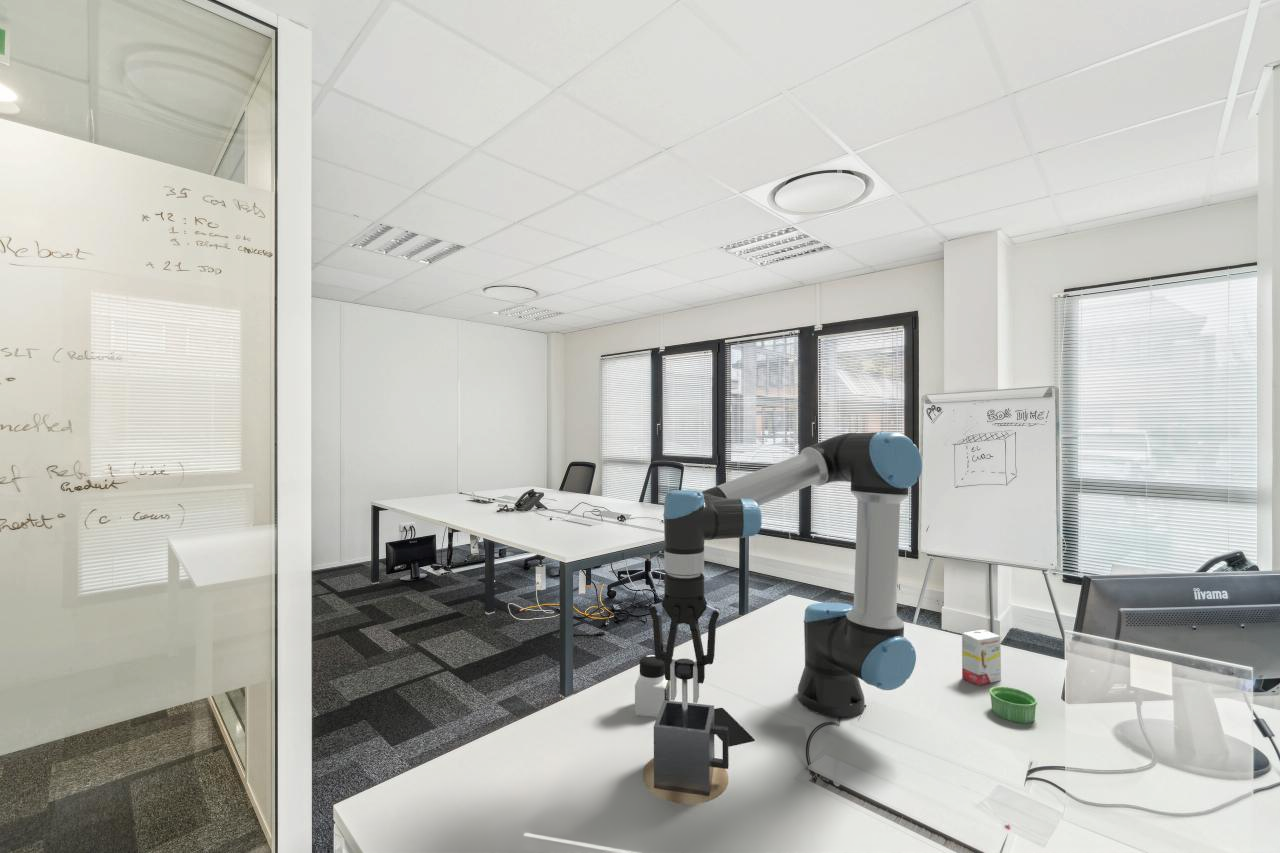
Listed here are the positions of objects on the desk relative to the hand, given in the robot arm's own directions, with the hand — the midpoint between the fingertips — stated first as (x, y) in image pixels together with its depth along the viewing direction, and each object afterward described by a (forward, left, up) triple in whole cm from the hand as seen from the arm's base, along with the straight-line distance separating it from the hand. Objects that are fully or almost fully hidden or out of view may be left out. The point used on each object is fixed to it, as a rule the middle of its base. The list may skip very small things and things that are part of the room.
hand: (684, 697), depth 101 cm
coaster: (0, 0, -15) cm, 15 cm away
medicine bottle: (+11, -23, -15) cm, 30 cm away
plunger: (0, 0, -10) cm, 10 cm away
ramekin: (-70, -39, -15) cm, 82 cm away
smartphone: (-6, -19, -15) cm, 25 cm away
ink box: (-70, -57, -15) cm, 92 cm away
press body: (-2, 0, -14) cm, 14 cm away
